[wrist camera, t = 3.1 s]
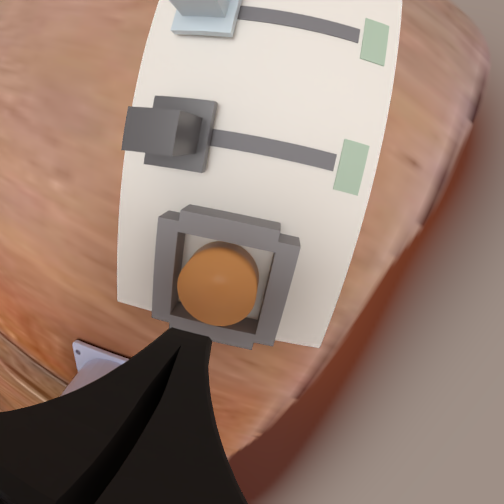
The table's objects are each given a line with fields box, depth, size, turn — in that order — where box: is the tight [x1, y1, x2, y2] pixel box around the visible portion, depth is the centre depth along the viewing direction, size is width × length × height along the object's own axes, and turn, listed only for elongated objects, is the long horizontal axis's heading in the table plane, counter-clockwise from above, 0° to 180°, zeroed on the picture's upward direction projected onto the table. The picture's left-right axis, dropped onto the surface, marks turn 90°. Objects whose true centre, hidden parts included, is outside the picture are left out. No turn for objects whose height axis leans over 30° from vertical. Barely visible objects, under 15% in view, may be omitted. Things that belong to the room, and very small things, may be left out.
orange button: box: [177, 241, 259, 326], centre depth 14 cm, size 4×4×2 cm
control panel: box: [117, 0, 402, 350], centre depth 13 cm, size 20×12×3 cm, turn 169°
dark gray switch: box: [122, 96, 218, 173], centre depth 11 cm, size 3×3×4 cm
